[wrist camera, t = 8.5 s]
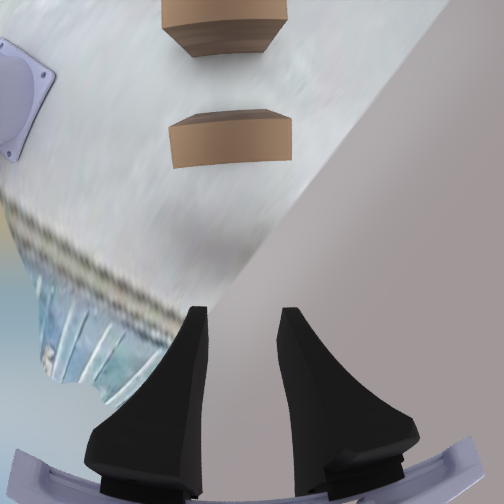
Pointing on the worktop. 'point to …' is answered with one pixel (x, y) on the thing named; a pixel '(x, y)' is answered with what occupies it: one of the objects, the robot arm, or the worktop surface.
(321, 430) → the robot arm
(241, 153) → the domino
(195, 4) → the domino
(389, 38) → the worktop surface
